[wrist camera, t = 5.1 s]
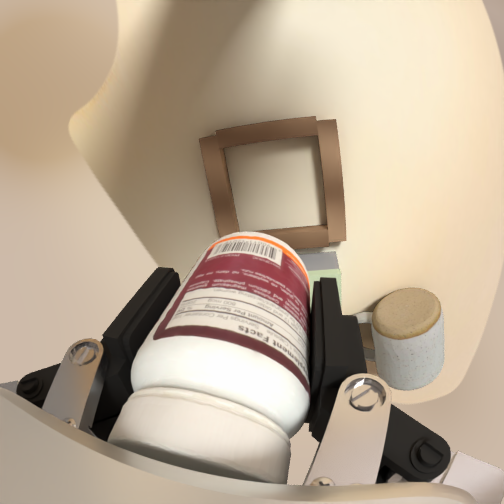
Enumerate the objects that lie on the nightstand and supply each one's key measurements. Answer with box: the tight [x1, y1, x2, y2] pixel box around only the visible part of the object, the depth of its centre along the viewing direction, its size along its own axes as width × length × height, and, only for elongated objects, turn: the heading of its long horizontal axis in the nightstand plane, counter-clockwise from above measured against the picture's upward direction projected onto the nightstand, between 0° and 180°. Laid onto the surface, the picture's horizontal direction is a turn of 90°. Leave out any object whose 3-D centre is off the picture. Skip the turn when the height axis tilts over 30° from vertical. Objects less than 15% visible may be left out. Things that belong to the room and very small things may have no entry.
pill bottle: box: [107, 232, 311, 485], centre depth 8 cm, size 5×5×8 cm
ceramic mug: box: [353, 288, 444, 390], centre depth 24 cm, size 11×8×8 cm
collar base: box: [199, 116, 346, 249], centre depth 23 cm, size 11×11×1 cm
